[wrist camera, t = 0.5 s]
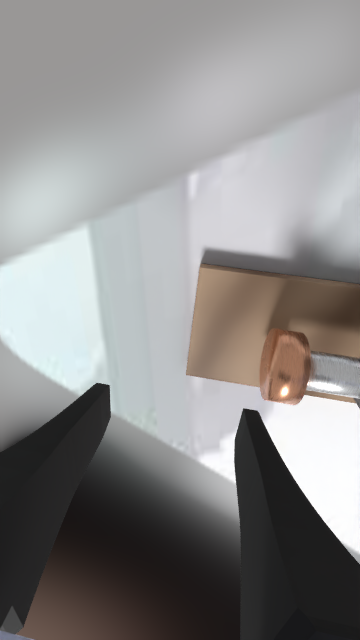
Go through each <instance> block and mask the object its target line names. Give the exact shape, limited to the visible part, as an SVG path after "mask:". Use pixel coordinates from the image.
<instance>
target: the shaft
mask: <svg viewBox="0 0 360 640" xmlns="http://www.w3.org/2000/svg"><path fill="white" fill-rule="evenodd" d="M259 381H260V391H261V395H262V397H263V399H264V400H267V401H273V402H278V403H284V404H290V405H296V404H298V403H299V402H300V401H301V399H302V398H303V396H304V394H305V391H306V390H310V391H316V392H322V393H328V394H334V395H340V396H346V397H352V398H358V399H360V358H358V357H351V356H345V355H338V354H332V353H325V352H319V351H312V350H310V346H309V342H308V339H307V337H306V336H305V334H304V333H302V332H296V331H289V330H282V329H275V328H273V329H271V330H270V331H269V333H268V335H267V337H266V340H265V343H264V346H263V350H262V355H261V362H260V375H259Z"/></svg>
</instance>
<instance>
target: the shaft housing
mask: <svg viewBox="0 0 360 640" xmlns="http://www.w3.org/2000/svg"><path fill="white" fill-rule="evenodd" d="M273 328H275V329H282V330H289V331H296V332H302V333H304V334H305V336H306V337H307V339H308V342H309V346H310V350H312V351H319V352H325V353H332V354H338V355H345V356H351V357H358V358H360V284H354V283H347V282H339V281H331V280H324V279H316V278H308V277H300V276H293V275H285V274H277V273H270V272H262V271H254V270H247V269H239V268H231V267H224V266H216V265H208V264H201V265H200V270H199V277H198V285H197V293H196V300H195V308H194V316H193V324H192V331H191V339H190V347H189V355H188V362H187V370H186V375H190V376H196V377H202V378H207V379H213V380H219V381H225V382H231V383H237V384H243V385H249V386H255V387H260V381H259V375H260V362H261V355H262V350H263V346H264V343H265V340H266V337H267V335H268V333H269V331H270V330H271V329H273ZM304 395H309V396H315V397H321V398H327V399H333V400H339V401H345V402H351V403H357V405H358V407H359V408H360V399H358V398H352V397H346V396H340V395H334V394H328V393H322V392H316V391H310V390H306V391H305V394H304Z"/></svg>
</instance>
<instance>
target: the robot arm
mask: <svg viewBox="0 0 360 640" xmlns="http://www.w3.org/2000/svg"><path fill="white" fill-rule="evenodd" d="M110 417H111V411H110V386H109V385H106V384H101V383H96V384H95V385H93V386H92V387H91V388H90V389H89V390H87V391H86V392H85V393H84V394H83V395H82V396H80V397H79V398H78V399H77V400H76V401H74V402H73V403H72V404H71V405H69V406H68V407H67V408H66V409H64V410H63V411H62V412H61V413H59V414H58V415H57V416H56V417H54V418H53V419H51V420H50V421H49V422H47V423H46V424H44V425H43V426H42V427H40V428H39V429H38V430H36V431H35V432H33V433H32V434H30V435H29V436H27V437H25V438H24V439H22V440H21V441H19V442H18V443H16V444H15V445H13V446H11V447H9V448H7V449H6V450H4V451H2V452H0V640H34V639H30V638H26V637H23V636H18V635H15V634H16V633H17V632H19V631H20V630H21V629H22V628H23V627H24V624H25V621H26V618H27V615H28V612H29V609H30V606H31V603H32V601H33V598H34V595H35V592H36V590H37V587H38V584H39V581H40V578H41V576H42V573H43V570H44V568H45V565H46V562H47V560H48V557H49V555H50V552H51V549H52V547H53V544H54V542H55V539H56V536H57V534H58V531H59V529H60V526H61V524H62V521H63V518H64V516H65V514H66V512H67V509H68V507H69V504H70V502H71V500H72V497H73V495H74V493H75V491H76V489H77V487H78V485H79V483H80V481H81V479H82V477H83V475H84V473H85V471H86V469H87V467H88V465H89V463H90V462H91V460H92V458H93V456H94V454H95V452H96V450H97V448H98V446H99V444H100V442H101V440H102V438H103V436H104V433H105V431H106V428H107V425H108V423H109V420H110ZM234 463H235V475H236V485H237V496H238V506H239V516H240V532H241V635H240V637H241V638H240V640H360V564H359V563H358V562H357V561H356V560H355V558H354V557H353V556H352V555H351V554H350V553H349V552H348V551H347V549H346V548H345V547H344V546H343V544H342V543H341V542H340V541H339V539H338V538H337V537H336V536H335V534H334V533H333V532H332V531H331V530H330V528H329V527H328V526H327V525H326V523H325V522H324V521H323V520H322V518H321V517H320V515H319V514H318V513H317V511H316V510H315V509H314V507H313V506H312V505H311V503H310V502H309V500H308V499H307V498H306V496H305V495H304V493H303V492H302V490H301V489H300V487H299V486H298V484H297V483H296V481H295V480H294V478H293V476H292V475H291V473H290V471H289V470H288V468H287V467H286V465H285V463H284V461H283V460H282V458H281V456H280V454H279V452H278V451H277V449H276V447H275V445H274V443H273V441H272V439H271V437H270V435H269V433H268V431H267V429H266V427H265V425H264V423H263V421H262V419H261V416H260V414H259V412H258V411H255V410H250V409H244V408H243V412H242V415H241V419H240V422H239V426H238V430H237V433H236V437H235V457H234Z"/></svg>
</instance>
